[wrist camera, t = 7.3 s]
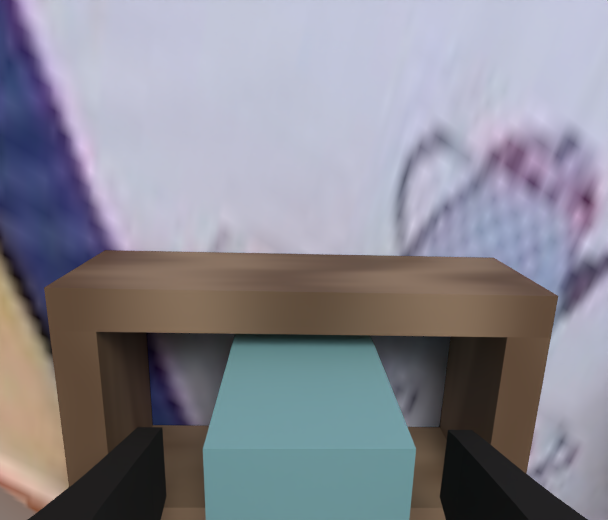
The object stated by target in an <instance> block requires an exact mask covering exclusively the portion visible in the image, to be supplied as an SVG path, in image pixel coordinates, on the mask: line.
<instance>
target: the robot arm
mask: <svg viewBox="0 0 608 520" xmlns="http://www.w3.org/2000/svg"><path fill="white" fill-rule="evenodd" d="M166 496H167V495H166V479H165V462H164V446H163V429H162V427H137V428H136V429H135V430H134V431H133V432H132V433H131V434H129V435H128V436H127V437H126V438H125V439H124V440H123V441H122V442H120V443H119V444H118V445H117V446H116V447H115V448H114V449H113V450H112V451H111V452H109V453H108V454H107V455H106V456H105V457H104V458H103V459H102V460H100V461H99V462H98V463H97V464H96V465H95V466H94V467H93V468H91V469H90V470H89V471H88V472H87V473H86V474H84V475H83V476H82V477H81V478H80V479H79V480H78V481H76V482H75V483H74V484H73V485H71V486H70V487H69V488H68V489H66V490H65V491H64V492H63V493H61V494H60V495H59V496H58V497H56V498H55V499H54V500H53V501H51V502H50V503H49V504H48V505H46V506H45V507H44V508H43V509H41V510H40V511H39V512H37V513H36V514H35V515H34V516H32V517H31V518H29V519H28V520H161V516H162V512H163V508H164V504H165V500H166ZM440 500H441V504H442V507H443V511H444V515H445V518H446V520H588V519H586V518H585V517H583V516H582V515H580V514H579V513H578V512H576V511H575V510H573V509H572V508H571V507H569V506H568V505H566V504H565V503H564V502H562V501H561V500H560V499H558V498H557V497H555V496H554V495H553V494H552V493H550V492H549V491H548V490H546V489H545V488H544V487H542V486H541V485H540V484H538V483H537V482H536V481H535V480H533V479H532V478H531V477H530V476H528V475H527V474H526V473H525V472H523V471H522V470H521V469H520V468H518V467H517V466H516V465H515V464H513V463H512V462H511V461H510V460H509V459H507V458H506V457H505V456H504V455H503V454H501V453H500V452H499V451H498V450H496V449H495V448H494V447H493V446H492V445H490V444H489V443H488V442H487V441H485V440H484V439H483V438H482V437H480V436H479V435H478V434H477V433H475V432H474V431H473V430H448V434H447V442H446V450H445V458H444V466H443V474H442V482H441V490H440Z"/></svg>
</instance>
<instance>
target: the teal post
mask: <svg viewBox="0 0 608 520" xmlns="http://www.w3.org/2000/svg"><path fill="white" fill-rule="evenodd" d="M415 456H416V447H415V445H414V442H413V440H412V437H411V435H410V432H409V430H408V427H407V425H406V422H405V420H404V417H403V415H402V412H401V410H400V407H399V405H398V403H397V400H396V398H395V395H394V393H393V390H392V388H391V385H390V383H389V380H388V378H387V375H386V373H385V370H384V368H383V365H382V363H381V360H380V358H379V355H378V353H377V350H376V348H375V345H374V343H373V340H372V338H371V336H370V335H303V334H235V336H234V340H233V344H232V347H231V351H230V354H229V358H228V361H227V365H226V368H225V372H224V375H223V379H222V383H221V386H220V390H219V393H218V397H217V400H216V404H215V407H214V411H213V415H212V418H211V422H210V425H209V429H208V432H207V436H206V439H205V443H204V446H203V466H204V490H205V513H206V520H409V518H410V507H411V497H412V487H413V476H414V466H415Z"/></svg>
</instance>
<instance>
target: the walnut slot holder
mask: <svg viewBox="0 0 608 520" xmlns="http://www.w3.org/2000/svg"><path fill="white" fill-rule="evenodd" d="M44 290H45V298H46V306H47V314H48V322H49V330H50V338H51V346H52V354H53V362H54V370H55V378H56V386H57V394H58V402H59V410H60V418H61V426H62V434H63V441H64V449H65V457H66V465H67V473H68V481H69V487H70V486H71V485H73V484H74V483H75V482H76V481H78V480H79V479H80V478H81V477H82V476H83V475H84V474H86V473H87V472H88V471H89V470H90V469H91V468H93V467H94V466H95V465H96V464H97V463H98V462H99V461H100V460H102V459H103V458H104V457H105V456H106V455H107V454H108V453H109V452H111V451H112V450H113V449H114V448H115V447H116V446H117V445H118V444H119V443H120V442H122V441H123V440H124V439H125V438H126V437H127V436H128V435H129V434H131V433H132V432H133V431H134V430H135V429H136V428H137V427H162V429H163V446H164V462H165V479H166V495H167V496H166V500H165V504H164V508H163V512H162V516H161V520H206V513H205V490H204V466H203V446H204V443H205V439H206V436H207V432H208V429H209V426H181V425H153V424H152V409H151V394H150V379H149V364H148V349H147V334H146V332H153V333H228V334H303V335H378V336H451V337H450V345H449V354H448V362H447V370H446V379H445V387H444V396H443V404H442V413H441V421H440V427H408V430H409V432H410V435H411V437H412V440H413V442H414V445H415V447H416V456H415V466H414V476H413V487H412V497H411V507H410V518H409V520H446V518H445V515H444V511H443V507H442V504H441V500H440V490H441V482H442V474H443V466H444V458H445V450H446V442H447V434H448V430H473V431H474V432H475V433H477V434H478V435H479V436H480V437H482V438H483V439H484V440H485V441H487V442H488V443H489V444H490V445H492V446H493V447H494V448H495V449H496V450H498V451H499V452H500V453H501V454H503V455H504V456H505V457H506V458H507V459H509V460H510V461H511V462H512V463H513V464H515V465H516V466H517V467H518V468H520V469H521V470H522V471H523V472H525V473H526V472H527V467H528V461H529V456H530V450H531V444H532V439H533V433H534V428H535V422H536V417H537V411H538V405H539V400H540V394H541V389H542V383H543V378H544V372H545V366H546V361H547V355H548V350H549V344H550V339H551V333H552V327H553V322H554V316H555V311H556V305H557V300H558V296H557V295H555V294H554V293H552V292H550V291H549V290H547V289H545V288H544V287H542V286H540V285H539V284H537V283H535V282H534V281H532V280H530V279H528V278H527V277H525V276H523V275H522V274H520V273H518V272H517V271H515V270H513V269H512V268H510V267H508V266H507V265H505V264H503V263H502V262H500V261H498V260H497V259H495V258H475V257H423V256H371V255H320V254H268V253H216V252H164V251H112V250H105V251H103V252H102V253H100V254H98V255H97V256H95V257H94V258H92V259H90V260H89V261H87V262H85V263H84V264H82V265H81V266H79V267H77V268H76V269H74V270H72V271H71V272H69V273H67V274H66V275H64V276H63V277H61V278H59V279H58V280H56V281H54V282H53V283H51V284H49V285H48V286H46V287H45V288H44Z"/></svg>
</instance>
